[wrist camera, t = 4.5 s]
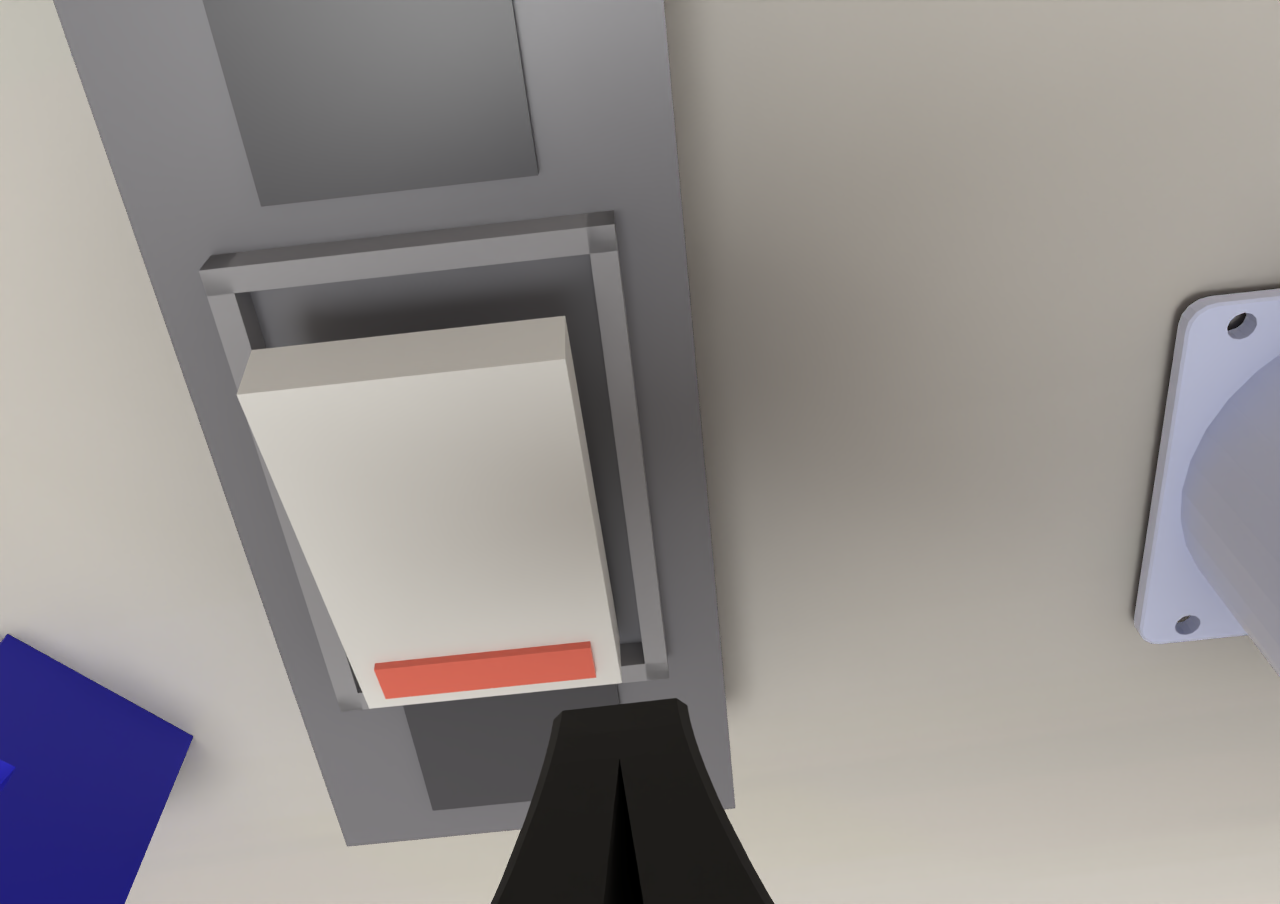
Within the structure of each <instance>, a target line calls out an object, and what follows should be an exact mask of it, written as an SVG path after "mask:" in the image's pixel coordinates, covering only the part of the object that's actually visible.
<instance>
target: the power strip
mask: <svg viewBox="0 0 1280 904" xmlns="http://www.w3.org/2000/svg"><path fill="white" fill-rule="evenodd" d="M53 2H54V5H55V7H56V10H57V13H58V16H59V19H60V22H61V25H62V28H63V30H64V33H65V36H66V39H67V42H68V45H69V48H70V51H71V53H72V56H73V59H74V62H75V65H76V68H77V71H78V74H79V76H80V79H81V82H82V85H83V88H84V91H85V94H86V97H87V99H88V102H89V105H90V108H91V111H92V114H93V117H94V120H95V122H96V125H97V128H98V131H99V134H100V137H101V140H102V143H103V145H104V148H105V151H106V154H107V157H108V160H109V163H110V166H111V168H112V171H113V174H114V177H115V180H116V183H117V186H118V189H119V192H120V194H121V197H122V200H123V203H124V206H125V209H126V212H127V215H128V217H129V220H130V223H131V226H132V229H133V232H134V235H135V238H136V240H137V243H138V246H139V249H140V252H141V255H142V258H143V261H144V263H145V266H146V269H147V272H148V275H149V278H150V281H151V284H152V286H153V289H154V292H155V295H156V298H157V301H158V304H159V307H160V309H161V312H162V315H163V318H164V321H165V324H166V327H167V330H168V332H169V335H170V338H171V341H172V344H173V347H174V350H175V353H176V355H177V358H178V361H179V364H180V367H181V370H182V373H183V376H184V379H185V381H186V384H187V387H188V390H189V393H190V396H191V399H192V402H193V404H194V407H195V410H196V413H197V416H198V419H199V422H200V425H201V427H202V430H203V433H204V436H205V439H206V442H207V445H208V448H209V450H210V453H211V456H212V459H213V462H214V465H215V468H216V471H217V473H218V476H219V479H220V482H221V485H222V488H223V491H224V494H225V496H226V499H227V502H228V505H229V508H230V511H231V514H232V517H233V519H234V522H235V525H236V528H237V531H238V534H239V537H240V540H241V542H242V545H243V548H244V551H245V554H246V557H247V560H248V563H249V565H250V568H251V571H252V574H253V577H254V580H255V583H256V586H257V589H258V591H259V594H260V597H261V600H262V603H263V606H264V609H265V612H266V614H267V617H268V620H269V623H270V626H271V629H272V632H273V635H274V637H275V640H276V643H277V646H278V649H279V652H280V655H281V658H282V660H283V663H284V666H285V669H286V672H287V675H288V678H289V681H290V683H291V686H292V689H293V692H294V695H295V698H296V701H297V704H298V706H299V709H300V712H301V715H302V718H303V721H304V724H305V727H306V729H307V732H308V735H309V738H310V741H311V744H312V747H313V750H314V752H315V755H316V758H317V761H318V764H319V767H320V770H321V773H322V776H323V778H324V781H325V784H326V787H327V790H328V793H329V796H330V799H331V801H332V804H333V807H334V810H335V813H336V816H337V819H338V822H339V824H340V827H341V830H342V833H343V836H344V839H345V842H346V845H347V846H357V845H367V844H377V843H387V842H397V841H408V840H418V839H428V838H438V837H448V836H458V835H468V834H478V833H489V832H499V831H509V830H519V829H521V828H522V826H523V823H524V821H525V818H526V815H527V812H528V809H529V806H530V803H531V800H532V798H533V795H534V792H535V789H536V786H537V783H538V779H539V776H540V773H541V770H542V766H543V763H544V759H545V755H546V751H547V748H548V744H549V740H550V735H551V730H552V725H553V720H554V719H555V718H556V717H557V716H558V715H559V714H560V713H561V712H562V711H564V710H573V709H582V708H591V707H599V706H608V705H617V704H626V703H635V702H644V701H653V700H662V699H671V698H677V699H679V700H680V701H682V702H683V703H685V704H686V705H687V706H688V712H689V717H690V721H691V725H692V729H693V732H694V736H695V739H696V742H697V745H698V748H699V751H700V754H701V756H702V759H703V762H704V764H705V767H706V770H707V772H708V774H709V777H710V779H711V781H712V784H713V786H714V788H715V791H716V793H717V796H718V798H719V800H720V802H721V804H722V806H723V808H724V809H732V808H735V799H734V788H733V777H732V766H731V754H730V743H729V732H728V720H727V709H726V698H725V686H724V675H723V664H722V653H721V641H720V630H719V619H718V607H717V596H716V585H715V574H714V562H713V551H712V540H711V528H710V517H709V506H708V494H707V483H706V472H705V461H704V449H703V438H702V427H701V415H700V404H699V393H698V382H697V370H696V359H695V348H694V336H693V325H692V314H691V302H690V291H689V280H688V269H687V257H686V246H685V235H684V223H683V212H682V201H681V190H680V178H679V167H678V156H677V144H676V133H675V122H674V110H673V99H672V88H671V77H670V65H669V54H668V43H667V31H666V20H665V9H664V0H53ZM558 316H565V318H566V324H567V330H568V336H569V342H570V347H571V353H572V359H573V365H574V371H575V377H576V383H577V389H578V395H579V401H580V406H581V412H582V418H583V424H584V430H585V436H586V442H587V448H588V454H589V460H590V465H591V471H592V477H593V483H594V489H595V495H596V501H597V507H598V513H599V519H600V525H601V530H602V536H603V542H604V548H605V554H606V560H607V566H608V572H609V578H610V584H611V589H612V595H613V601H614V607H615V613H616V619H617V625H618V631H619V637H620V655H621V675H622V683H617V684H608V685H598V686H588V687H578V688H568V689H558V690H549V691H539V692H529V693H519V694H509V695H499V696H490V697H480V698H470V699H460V700H450V701H440V702H431V703H421V704H411V705H401V706H391V707H381V708H372V709H369V707H368V704H367V702H366V700H365V697H364V695H363V693H362V690H361V688H360V685H359V683H358V681H357V678H356V676H355V674H354V671H353V669H352V667H351V664H350V662H349V659H348V657H347V655H346V652H345V650H344V648H343V645H342V643H341V641H340V638H339V636H338V633H337V631H336V629H335V626H334V624H333V622H332V619H331V617H330V615H329V612H328V610H327V607H326V605H325V603H324V600H323V598H322V596H321V593H320V591H319V589H318V586H317V584H316V581H315V579H314V577H313V574H312V572H311V570H310V567H309V565H308V563H307V560H306V558H305V555H304V553H303V551H302V548H301V546H300V544H299V541H298V539H297V537H296V534H295V532H294V529H293V527H292V525H291V522H290V520H289V518H288V515H287V513H286V511H285V508H284V506H283V503H282V501H281V499H280V496H279V494H278V492H277V489H276V487H275V485H274V482H273V480H272V477H271V475H270V473H269V470H268V468H267V466H266V463H265V461H264V459H263V456H262V454H261V451H260V449H259V447H258V444H257V442H256V440H255V437H254V435H253V433H252V430H251V428H250V425H249V423H248V421H247V418H246V416H245V414H244V411H243V409H242V407H241V404H240V402H239V399H238V397H237V392H238V389H239V386H240V383H241V380H242V377H243V374H244V371H245V368H246V366H247V363H248V360H249V357H250V354H251V351H252V350H257V349H266V348H276V347H285V346H294V345H303V344H312V343H321V342H330V341H339V340H348V339H357V338H367V337H376V336H385V335H394V334H403V333H412V332H421V331H430V330H439V329H448V328H458V327H467V326H476V325H485V324H494V323H503V322H512V321H521V320H530V319H539V318H549V317H558Z"/></svg>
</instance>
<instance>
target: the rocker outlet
mask: <svg viewBox="0 0 1280 904" xmlns="http://www.w3.org/2000/svg"><path fill="white" fill-rule="evenodd" d="M237 397H238V399H239V402H240V404H241V407H242V409H243V411H244V414H245V416H246V418H247V421H248V423H249V425H250V428H251V430H252V433H253V435H254V437H255V440H256V442H257V444H258V447H259V449H260V451H261V454H262V456H263V459H264V461H265V463H266V466H267V468H268V470H269V473H270V475H271V477H272V480H273V482H274V485H275V487H276V489H277V492H278V494H279V496H280V499H281V501H282V503H283V506H284V508H285V511H286V513H287V515H288V518H289V520H290V522H291V525H292V527H293V529H294V532H295V534H296V537H297V539H298V541H299V544H300V546H301V548H302V551H303V553H304V555H305V558H306V560H307V563H308V565H309V567H310V570H311V572H312V574H313V577H314V579H315V581H316V584H317V586H318V589H319V591H320V593H321V596H322V598H323V600H324V603H325V605H326V607H327V610H328V612H329V615H330V617H331V619H332V622H333V624H334V626H335V629H336V631H337V633H338V636H339V638H340V641H341V643H342V645H343V648H344V650H345V652H346V655H347V657H348V659H349V662H350V664H351V667H352V669H353V671H354V674H355V676H356V678H357V681H358V683H359V685H360V688H361V690H362V693H363V695H364V697H365V700H366V702H367V704H368V707H369V709H372V708H381V707H391V706H401V705H411V704H421V703H431V702H440V701H450V700H460V699H470V698H480V697H490V696H499V695H509V694H519V693H529V692H539V691H549V690H558V689H568V688H578V687H588V686H598V685H608V684H617V683H622V675H621V655H620V637H619V631H618V625H617V619H616V613H615V607H614V601H613V595H612V589H611V584H610V578H609V572H608V566H607V560H606V554H605V548H604V542H603V536H602V530H601V525H600V519H599V513H598V507H597V501H596V495H595V489H594V483H593V477H592V471H591V465H590V460H589V454H588V448H587V442H586V436H585V430H584V424H583V418H582V412H581V406H580V401H579V395H578V389H577V383H576V377H575V371H574V365H573V359H572V353H571V347H570V342H569V336H568V330H567V324H566V318H565V316H558V317H549V318H539V319H530V320H521V321H512V322H503V323H494V324H485V325H476V326H467V327H458V328H448V329H439V330H430V331H421V332H412V333H403V334H394V335H385V336H376V337H367V338H357V339H348V340H339V341H330V342H321V343H312V344H303V345H294V346H285V347H276V348H266V349H257V350H252V351H251V354H250V357H249V360H248V363H247V366H246V368H245V371H244V374H243V377H242V380H241V383H240V386H239V389H238V392H237Z"/></svg>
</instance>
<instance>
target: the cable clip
mask: <svg viewBox="0 0 1280 904" xmlns="http://www.w3.org/2000/svg"><path fill="white" fill-rule="evenodd" d="M192 739H193V736H192V735H190V734H188V733H186V732H185V731H183V730H181V729H179V728H177V727H176V726H174V725H172V724H170V723H168V722H166V721H165V720H163V719H161V718H159V717H157V716H156V715H154V714H152V713H150V712H148V711H147V710H145V709H143V708H141V707H139V706H137V705H136V704H134V703H132V702H130V701H128V700H127V699H125V698H123V697H121V696H119V695H118V694H116V693H114V692H112V691H110V690H108V689H107V688H105V687H103V686H101V685H99V684H98V683H96V682H94V681H92V680H90V679H89V678H87V677H85V676H83V675H81V674H79V673H78V672H76V671H74V670H72V669H70V668H69V667H67V666H65V665H63V664H61V663H60V662H58V661H56V660H54V659H52V658H50V657H49V656H47V655H45V654H43V653H41V652H40V651H38V650H36V649H34V648H32V647H31V646H29V645H27V644H25V643H23V642H21V641H20V640H18V639H16V638H14V637H12V636H11V635H9V634H7V635H6V636H5V638H4V639H3V640H2V641H1V642H0V904H125V901H126V899H127V896H128V894H129V892H130V889H131V887H132V884H133V882H134V879H135V877H136V875H137V872H138V870H139V867H140V865H141V862H142V860H143V858H144V855H145V853H146V850H147V848H148V845H149V843H150V841H151V838H152V836H153V833H154V831H155V828H156V826H157V824H158V821H159V819H160V816H161V814H162V811H163V809H164V807H165V804H166V802H167V799H168V797H169V794H170V792H171V790H172V787H173V785H174V782H175V780H176V777H177V775H178V773H179V770H180V768H181V765H182V763H183V760H184V758H185V756H186V753H187V751H188V748H189V746H190V743H191V741H192Z"/></svg>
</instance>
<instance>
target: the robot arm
mask: <svg viewBox="0 0 1280 904" xmlns="http://www.w3.org/2000/svg"><path fill="white" fill-rule="evenodd" d="M1242 313H1246V317H1245V320H1244V322H1243V323H1242V324H1241V325H1240V326H1238V327H1237V328H1235V329H1232V330H1227V327H1228V325H1229V323H1230V321H1231V320H1232V319H1233V318H1234V317H1235V316H1236V315H1239V314H1242ZM1189 615H1190V617H1189V618H1188V619H1186V620H1185V621H1183V622H1179V623H1177V621H1179V620H1180V619H1181V618H1182V617H1185V616H1189ZM1134 625H1135V628H1136V629H1137V631H1138V632H1139V634H1140V635H1141V637H1142V638H1143V639H1144V640H1145V641H1147V642H1149V643H1151V644H1165V643H1175V642H1185V641H1194V640H1204V639H1214V638H1224V637H1234V636H1244V635H1248V636H1249V637H1250V638H1251V640H1252V641H1253V642H1254V644H1255V645H1256V646H1257V648H1258V649H1259V650H1260V652H1261V653H1262V654H1263V656H1264V657H1265V658H1266V660H1267V661H1268V662H1269V664H1270V665H1271V666H1272V668H1273V669H1274V670H1275V672H1276V673H1277V674H1278V676H1279V677H1280V289H1271V290H1261V291H1252V292H1243V293H1234V294H1225V295H1215V296H1208V297H1205V298H1201V299H1198V300H1197V301H1195V302H1194V303H1192V304H1191V305H1189V306H1188V307H1187V309H1186V310H1185V311H1184V312H1183V314H1182V315H1181V318H1180V321H1179V323H1178V329H1177V336H1176V343H1175V349H1174V356H1173V362H1172V369H1171V376H1170V382H1169V389H1168V396H1167V402H1166V409H1165V416H1164V422H1163V429H1162V436H1161V442H1160V449H1159V456H1158V462H1157V469H1156V476H1155V482H1154V489H1153V495H1152V502H1151V509H1150V515H1149V522H1148V529H1147V535H1146V542H1145V549H1144V555H1143V562H1142V569H1141V575H1140V582H1139V589H1138V595H1137V602H1136V609H1135V615H1134ZM491 904H774V902H773V901H772V899H771V897H770V896H769V894H768V892H767V891H766V889H765V887H764V885H763V883H762V882H761V880H760V878H759V876H758V875H757V873H756V871H755V869H754V867H753V866H752V864H751V862H750V860H749V858H748V856H747V854H746V852H745V850H744V848H743V846H742V844H741V842H740V840H739V838H738V837H737V835H736V833H735V831H734V829H733V827H732V825H731V823H730V821H729V819H728V817H727V815H726V813H725V811H724V808H723V806H722V804H721V802H720V800H719V798H718V796H717V793H716V791H715V788H714V786H713V784H712V781H711V779H710V777H709V774H708V772H707V770H706V767H705V764H704V762H703V759H702V756H701V754H700V751H699V748H698V745H697V742H696V739H695V736H694V732H693V729H692V725H691V721H690V717H689V712H688V706H687V705H686V704H685V703H683V702H682V701H680V700H679V699H677V698H671V699H662V700H653V701H644V702H635V703H626V704H617V705H608V706H599V707H591V708H582V709H573V710H564V711H562V712H561V713H560V714H559V715H558V716H557V717H556V718H555V719H554V720H553V725H552V730H551V735H550V740H549V744H548V748H547V751H546V755H545V759H544V763H543V766H542V770H541V773H540V776H539V779H538V783H537V786H536V789H535V792H534V795H533V798H532V800H531V803H530V806H529V809H528V812H527V815H526V818H525V821H524V823H523V826H522V828H521V831H520V834H519V836H518V839H517V841H516V844H515V846H514V849H513V852H512V854H511V857H510V859H509V862H508V864H507V867H506V869H505V872H504V875H503V877H502V879H501V882H500V884H499V886H498V889H497V891H496V893H495V896H494V898H493V900H492V902H491Z"/></svg>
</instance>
